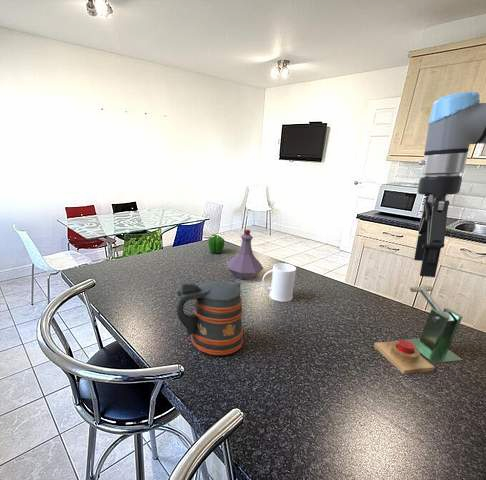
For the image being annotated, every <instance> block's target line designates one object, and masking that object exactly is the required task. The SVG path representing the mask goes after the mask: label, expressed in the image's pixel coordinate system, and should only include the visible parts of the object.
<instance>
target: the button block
mask: <svg viewBox="0 0 486 480" xmlns="http://www.w3.org/2000/svg"><path fill="white" fill-rule="evenodd" d="M399 341H400V340H391V341H379V342H378V341H377V342H374V344H373V347H374V348H375V349H376V350H377V351H378V352H379V353H380V354H381V355H382V356H383V357H384V358H385V359H386V360H388V361H389V362H390V363H391V365H393V366H394V367H395V368H396V369H397V370H398V371H399V372H401V374H402V375H408V374H417V373H427V372H434V370H435V368H436V366H435V365H433V363H432V362H430V361H429V360H428V359H427V358H425V357H424V356H423V355H422V354H421V353H420V352H419V350H418V349H417V348H416V347H415V348H414V351H413V353H412V354H407V353H404V352H401V351H400V350H398V349H397V345H398V342H399Z"/></svg>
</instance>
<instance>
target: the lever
mask: <svg viewBox="0 0 486 480" xmlns="http://www.w3.org/2000/svg"><path fill="white" fill-rule="evenodd" d="M433 289H434V287H433V286H432V285H424V286H423V285H422V286H411V287H410V288H409V290H410V292H411V293H416V292H417V293H420V294H421V295H422V296H423V298H424V299H425V300H426V302H427V303H428V305H429V306H430V307H431V309H435V310H437V311H439V312H440V313H442V314H444V315H445V316H447V317H449V319H448V322H447V324H446V326H447V325H449V324H451V323H452V322H453V321H455V320H454V319H453V318H452V317H451V315H450V314H449V313H448V312H443V311H444V310H442V308H440V306H439V305H438V303H437V302H436V301H435V300H434V298H433V297H432V296H431V294H430V293H429V292H432V291H433Z"/></svg>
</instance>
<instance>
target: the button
mask: <svg viewBox="0 0 486 480" xmlns="http://www.w3.org/2000/svg"><path fill="white" fill-rule="evenodd" d="M398 341H399V342H398V345H397V349H398V350H400V351H401V352H404V353H407V354H412V353H413V351H414V348H415V346H414V344H412V343H411V342H409V341H405V339H401V340H398Z"/></svg>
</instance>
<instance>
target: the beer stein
mask: <svg viewBox="0 0 486 480" xmlns="http://www.w3.org/2000/svg"><path fill="white" fill-rule="evenodd" d="M180 288H181V289H178V290H176V295H177V296H178V297H179V299H178V301H177V304H176V315H177V318H178V320H179V322H180V323H181V324H182V325H183V327H184V332H185V333H186V334H187V335H188V336H191V337H190V338H191V342H192V345H193V346H194V348H196V349H197V350H198V351H199V352H201V353H203V354H206V355H209V356H215V357H219V356H227V355H232V354H234V353H236V352H237V351H239V350H240V349H241V348H242V346H243V344H244V328H243V327H244V326H243V325H242V316H243V303H242V301H243V299H242V297H241V293H242V292H241V282H237V283H232V282H228V281H221V280H211V281H207V282H204V283H201V284H200V285H199V286H198V285H197V284H195V283H194V282H184V281H183V282H181V286H180ZM191 300H194V308H193V314H186V313H185V311H184V306H185V304H186V302H188V301H191Z"/></svg>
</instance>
